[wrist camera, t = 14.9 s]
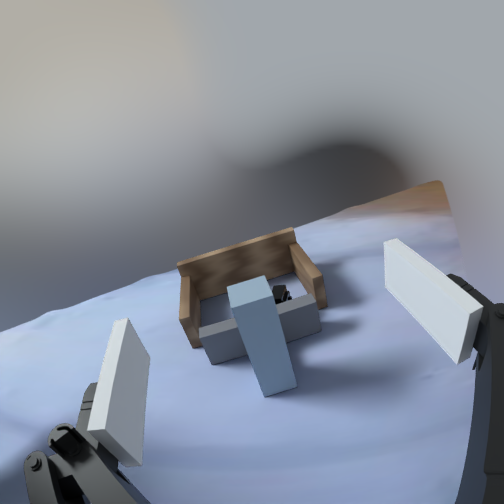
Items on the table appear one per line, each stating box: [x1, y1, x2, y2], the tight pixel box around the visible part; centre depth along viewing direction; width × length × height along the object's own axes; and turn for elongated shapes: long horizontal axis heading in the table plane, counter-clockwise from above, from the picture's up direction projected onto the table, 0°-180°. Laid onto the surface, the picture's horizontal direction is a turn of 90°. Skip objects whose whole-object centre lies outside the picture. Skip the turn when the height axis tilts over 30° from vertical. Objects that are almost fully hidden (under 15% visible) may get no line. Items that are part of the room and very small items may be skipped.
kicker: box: [199, 275, 321, 397], centre depth 33 cm, size 14×9×12 cm, turn 100°
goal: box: [177, 227, 327, 348], centre depth 46 cm, size 19×13×7 cm
